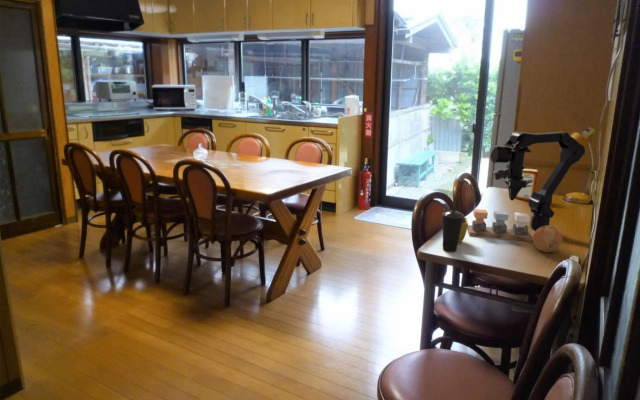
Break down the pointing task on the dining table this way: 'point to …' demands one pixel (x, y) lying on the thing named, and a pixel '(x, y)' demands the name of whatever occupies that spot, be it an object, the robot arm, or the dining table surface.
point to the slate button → (500, 217)
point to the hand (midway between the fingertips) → (511, 199)
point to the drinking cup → (451, 228)
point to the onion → (547, 238)
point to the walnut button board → (499, 231)
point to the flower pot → (463, 230)
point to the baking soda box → (528, 184)
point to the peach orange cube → (480, 216)
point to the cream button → (521, 219)
